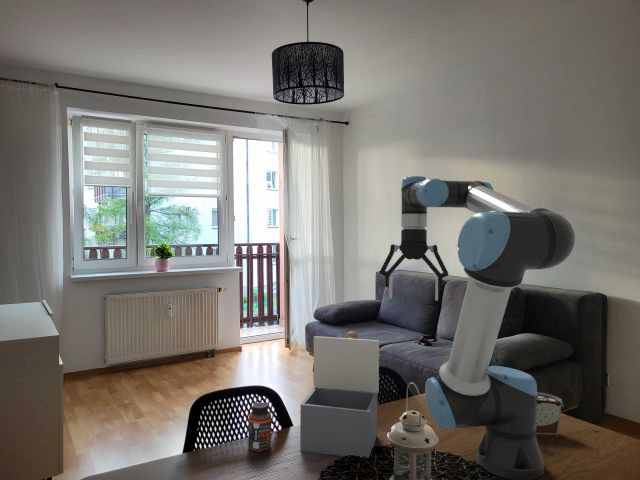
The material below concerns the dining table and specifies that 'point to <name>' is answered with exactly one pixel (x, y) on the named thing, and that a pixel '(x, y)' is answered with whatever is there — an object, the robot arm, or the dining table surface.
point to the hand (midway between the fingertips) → (413, 299)
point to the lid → (346, 363)
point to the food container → (548, 414)
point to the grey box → (338, 422)
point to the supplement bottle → (259, 428)
